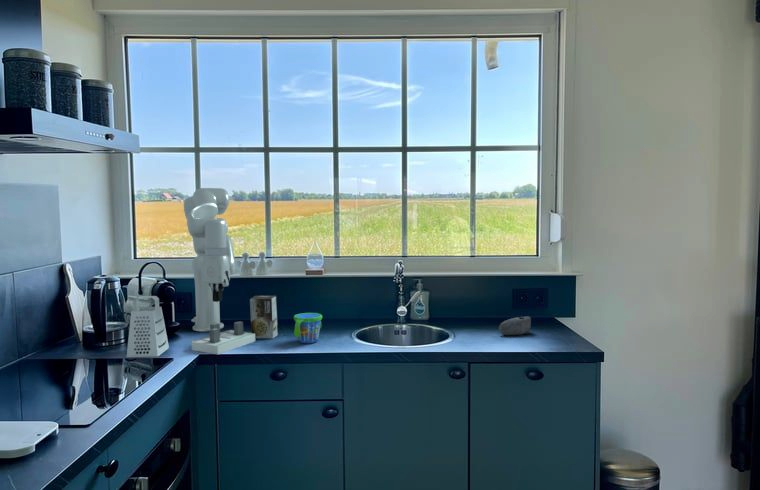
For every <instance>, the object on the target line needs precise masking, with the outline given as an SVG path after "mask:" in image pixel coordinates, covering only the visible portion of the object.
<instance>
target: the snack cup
mask: <svg viewBox="0 0 760 490" xmlns="http://www.w3.org/2000/svg"><path fill="white" fill-rule="evenodd" d="M322 319H323V315H322V314H321V313H318V312H304V313H303V312H302V313H298V314H294V315H293V320H294V322H295V324H294V330H293V335H294V337H296V338H297V340H298V342H299V343H302V344H314V343H316V342H318V341H319V339H320V338H319V336H320V330H321V329H322V326H323V325H322Z"/></svg>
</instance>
